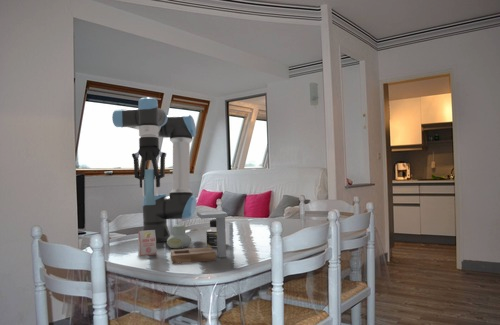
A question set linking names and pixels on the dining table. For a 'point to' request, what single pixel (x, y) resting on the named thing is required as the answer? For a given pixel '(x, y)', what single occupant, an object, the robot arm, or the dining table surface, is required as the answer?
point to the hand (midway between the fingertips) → (150, 195)
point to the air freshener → (178, 237)
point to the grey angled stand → (220, 228)
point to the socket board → (192, 255)
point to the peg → (149, 187)
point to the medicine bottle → (213, 234)
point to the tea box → (146, 243)
